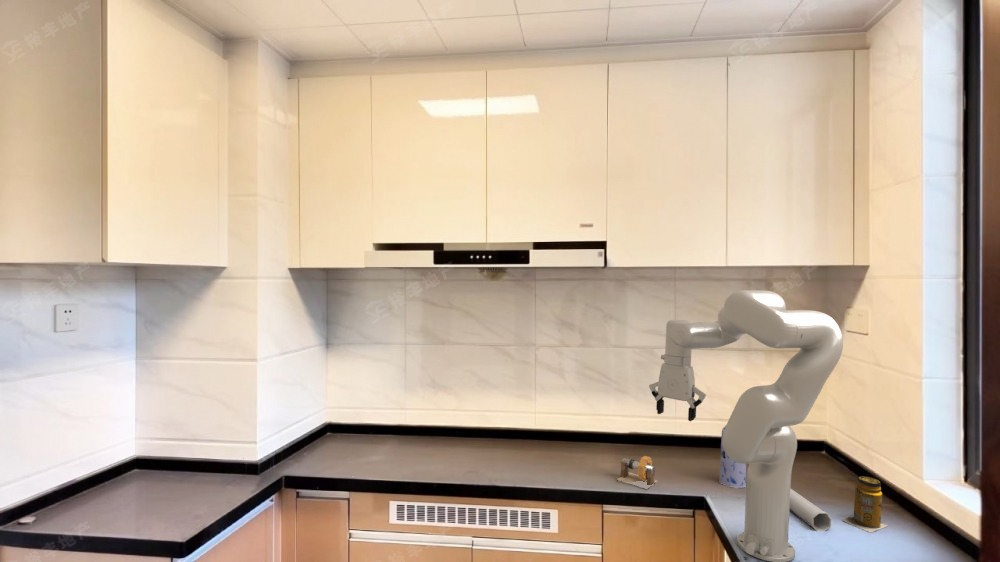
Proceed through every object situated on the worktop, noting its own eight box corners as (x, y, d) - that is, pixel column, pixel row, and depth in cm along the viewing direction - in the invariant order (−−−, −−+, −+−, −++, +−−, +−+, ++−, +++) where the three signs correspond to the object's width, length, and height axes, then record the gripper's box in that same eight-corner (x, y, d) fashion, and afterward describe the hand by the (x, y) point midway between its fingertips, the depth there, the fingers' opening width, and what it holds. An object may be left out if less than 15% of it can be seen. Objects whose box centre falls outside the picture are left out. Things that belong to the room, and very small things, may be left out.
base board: (646, 490, 160) (647, 472, 160) (617, 480, 167) (617, 463, 166) (657, 482, 166) (658, 465, 166) (628, 473, 173) (629, 457, 173)
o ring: (643, 482, 162) (643, 461, 161) (637, 480, 163) (638, 459, 163) (652, 476, 167) (652, 455, 167) (646, 474, 168) (647, 454, 168)
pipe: (650, 476, 162) (650, 466, 162) (621, 467, 168) (621, 458, 168) (654, 473, 164) (655, 464, 164) (625, 465, 171) (625, 456, 171)
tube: (758, 478, 162) (809, 515, 137) (775, 472, 162) (828, 509, 137) (763, 494, 162) (815, 535, 137) (779, 489, 163) (834, 528, 138)
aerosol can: (716, 477, 171) (718, 416, 171) (742, 479, 170) (744, 418, 170) (722, 487, 164) (724, 423, 163) (749, 489, 162) (751, 425, 162)
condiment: (887, 526, 141) (889, 482, 141) (871, 533, 137) (873, 488, 137) (858, 514, 147) (860, 472, 147) (841, 521, 143) (843, 477, 143)
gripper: (645, 358, 162) (643, 413, 162) (701, 366, 150) (699, 425, 151) (656, 355, 168) (654, 408, 168) (711, 363, 156) (708, 420, 157)
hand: (675, 416), depth 160 cm, fingers open, 9 cm apart
